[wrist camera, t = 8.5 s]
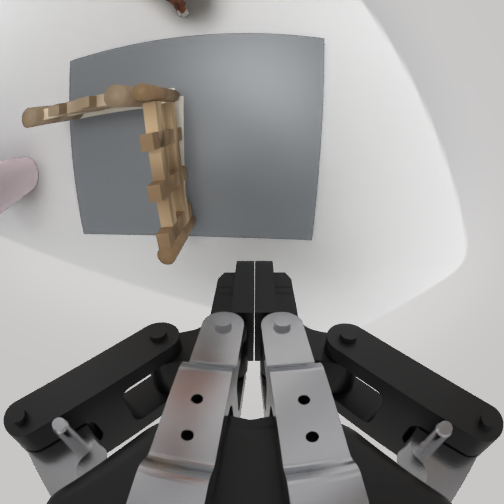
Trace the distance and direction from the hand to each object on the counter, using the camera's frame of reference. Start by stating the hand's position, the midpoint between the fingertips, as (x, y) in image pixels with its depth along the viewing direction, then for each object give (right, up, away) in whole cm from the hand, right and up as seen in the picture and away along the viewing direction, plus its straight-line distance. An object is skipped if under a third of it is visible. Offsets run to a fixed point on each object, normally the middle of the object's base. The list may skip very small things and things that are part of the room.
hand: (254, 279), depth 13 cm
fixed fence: (-11, +13, +7) cm, 18 cm away
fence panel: (-6, +8, +8) cm, 13 cm away
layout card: (-5, +10, +8) cm, 14 cm away
